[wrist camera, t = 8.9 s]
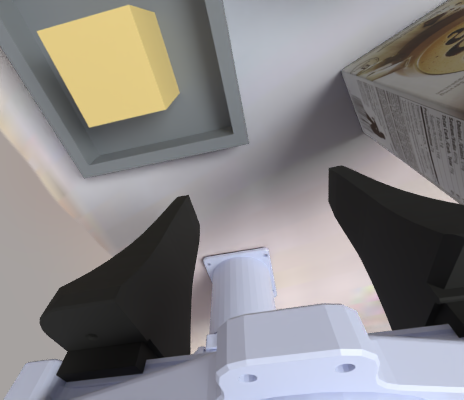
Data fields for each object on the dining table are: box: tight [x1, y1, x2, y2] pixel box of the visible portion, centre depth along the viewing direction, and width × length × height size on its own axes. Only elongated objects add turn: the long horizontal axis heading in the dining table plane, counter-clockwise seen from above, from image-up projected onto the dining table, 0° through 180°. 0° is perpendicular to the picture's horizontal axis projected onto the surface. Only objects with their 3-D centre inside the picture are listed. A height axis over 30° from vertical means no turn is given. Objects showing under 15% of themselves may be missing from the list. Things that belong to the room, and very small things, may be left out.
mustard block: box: [37, 5, 180, 128], centre depth 15 cm, size 5×5×5 cm
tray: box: [0, 0, 249, 178], centre depth 17 cm, size 14×14×3 cm
